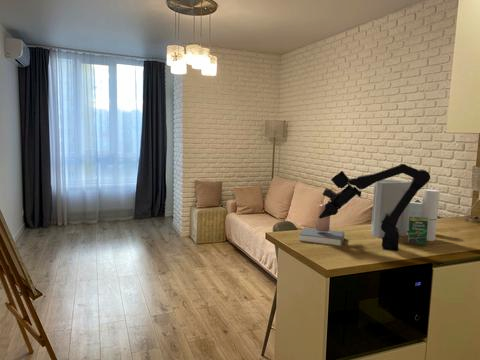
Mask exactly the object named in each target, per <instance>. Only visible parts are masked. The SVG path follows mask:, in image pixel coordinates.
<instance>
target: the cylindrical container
mask: <svg viewBox="0 0 480 360" xmlns="http://www.w3.org/2000/svg"><path fill="white" fill-rule="evenodd" d="M422 193H423V195H422V196H423V197H422V202H421V203H422V214H421V218H428V228H427V242H433V241H436V234H437V233H436V232H437V224H438V215H439V205H440V204H439V203H440V196H441V195H440V194H441V191H440V190H438V189H431V188H430V189H429V188H425V189H423V192H422Z"/></svg>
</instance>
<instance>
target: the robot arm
mask: <svg viewBox="0 0 480 360" xmlns="http://www.w3.org/2000/svg"><path fill="white" fill-rule="evenodd" d="M401 174H404V175H407V176H409V177H411V178H412V179H411V181H410V182H411V183H410V186H409V188H408V189H407V190H406V192H405V193H404V195H403V196H402V198H401V199H400V200H399V202H398V203H397V205H396V206H395V208H394V209H393V210H392V212H391V213H389V214H387V213H385V215H384V217H383V218H382V219H381V229H382V231H384V232H385V234H384V237H383V238H381V240H382V241H381V247H382V250H389V251H396V252H398V251H399V241H400V236H399V230H398V229H397V227H396V224H397V222H398V219H399V217H400V215H401V214H402V213H403V211H404V210H405V208H406V207H407V205H408V204H409V203H410V202H412V200H413V199H414V197H415V195H417V193H418V192H419V191H420V190H421V189H422V188H424V187H425V185H427V183H429V181H430V180H431V175H430V173H429V172H428V171H427V170H425V169H417V168H414V167H412V166H410V165H409V166H408V165H407V164H405V163H399V165H395V166H392V167H390V168H388V169H384V170H381V171H379V172H375V173H372V174H371V173H370V174H364V175H359V176H356V178H354V177H353V178H349V177H348V176H347V175H346V173H345V171H343V170H340V172H339V173H337V174H335V175H334V176H333V177H332V178H331V179H330V181H331V182H332V183H333V184H334V185H335V186H336V187H337V189H342V190H341V191H340V192H335V191H333V190H331V189H330V188H328V187H326V188H324V191H323V193H322V195H323V196H324V197H326V198H328V199H329V200H328V201H327V203H325V204H326V205H325V210H324V211H323V212H322V214H321V215H320V216H319V218H320V219H321V218H324V217H328V216H330V217H331V216H335V215H336V214H338V213H339V210H340V209H341V208H342V207H343V206H344V205H347V204H348V202H350V201H351V200H353V198H354V197H356V196H358V197H359V198H361V197H362V190H365V189H367V188H368V187H370V186H373V184H375V182H377V181H380V180H383V179H385V180H387V179H389V178H392V177H396V176H398V175H401Z"/></svg>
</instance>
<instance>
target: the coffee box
mask: <svg viewBox="0 0 480 360" xmlns="http://www.w3.org/2000/svg"><path fill="white" fill-rule="evenodd" d="M427 228H428V218H421V217H409V231H408V233H407V235H408V236H407V243H408V244H409V245H418V246H419V245H420V246H425V247H426V246H427V242H428V241H427Z"/></svg>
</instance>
